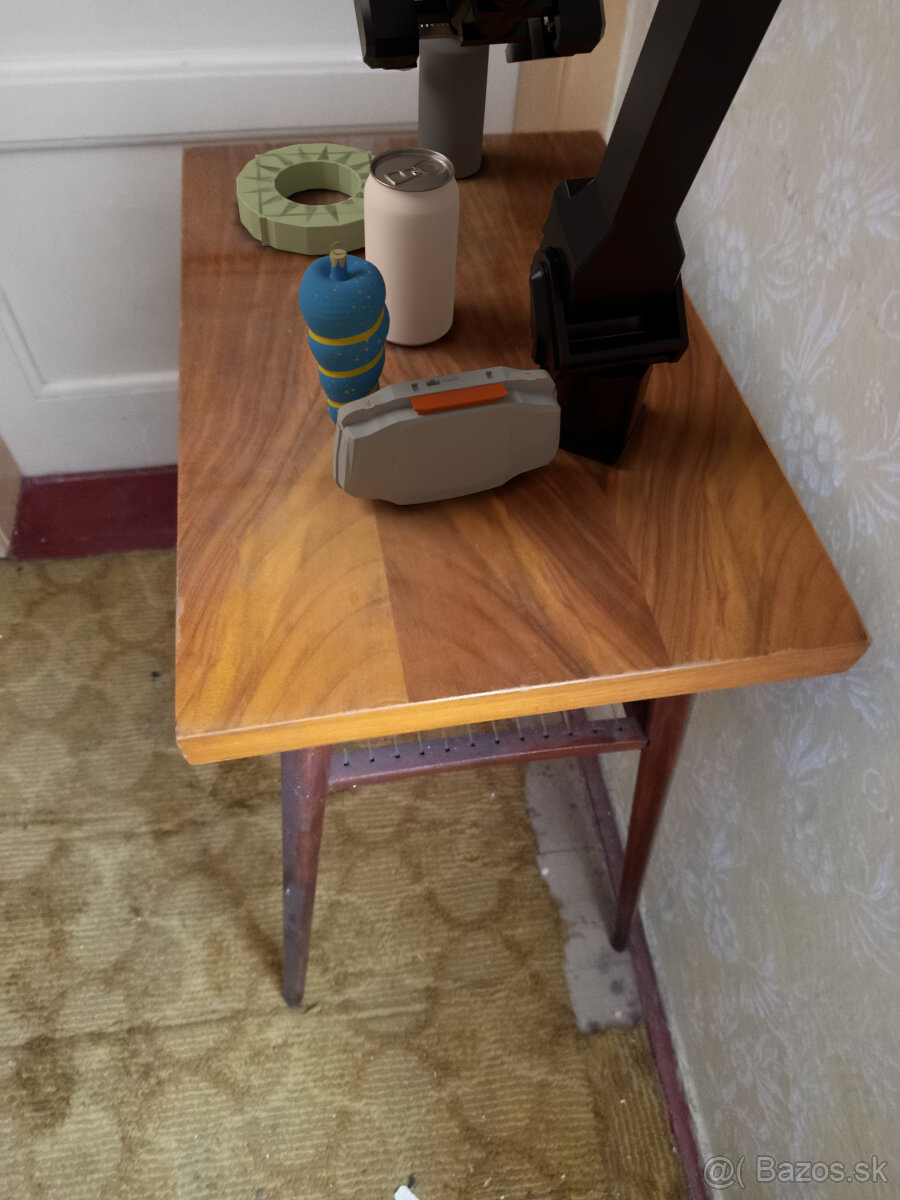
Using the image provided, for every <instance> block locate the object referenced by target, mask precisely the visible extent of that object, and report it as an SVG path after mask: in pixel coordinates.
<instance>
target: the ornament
mask: <svg viewBox="0 0 900 1200" xmlns="http://www.w3.org/2000/svg"><path fill="white" fill-rule="evenodd" d="M335 243H341V242H335ZM333 244H334V243H333ZM333 244H332V245H333ZM341 244H343V243H341ZM343 246H344V244H343ZM331 250H332V246H331ZM344 250H345V246H344ZM344 250H342V249H335V250H332V251H331V253H330V254H328V255H325V256H322V257H319V258H317V259H315V260H314V261H313V262H312V263H311V264H310V265H309V266H308V267H307V269H306V270H305V272H304V274H303V275H302V278H301V282H300V286H299V291H298V305H299V310H300V313H301V316H302V318H303V320H304V322H305V324H306V326H307V327H308V332H307V344H308V347H309V349H310V351H311V354H312V355H313V357H314V359H315V360H316V362H317V363H318V365H319V366H318V379H319V383H320V385H321V387H322V390H323V391H324V394H325V395H326V397H327V402H326V408H327V412H328V415H329V418H330V419H331V421H332V423H333V424H334V425H335V426H336V424H337V417H338V410H339V408H340V407H341V406H342V405H346V404H348V403H350V402H353V401H356V400H359V399H362V398H365V397H367V396H369V395H371V394H373V393H375V392H377V391H379V390H380V387H381V386H380V380H379V379H380V377H381V375H382V373H383V370H384V367H385V362H386V346H385V343H386V342H387V341H386V338H387V335H388V332H389V326H390V317H389V311H388V308H387V306H386V304H385V299H386V286H385V282H384V279H383V276H382V274H381V273H380V271H379V270H378V268H377V267H376V266H375V265H374V264H373V263H371V262H369V261H367V260H366V259H364V258H362V257H358V256H355V255H353V254H347V253H348V252H346V251H344Z"/></svg>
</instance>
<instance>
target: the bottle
mask: <svg viewBox="0 0 900 1200" xmlns="http://www.w3.org/2000/svg"><path fill="white" fill-rule="evenodd" d="M446 24H447V25H448V23H446ZM431 25H432V26H433V24H431ZM436 25H437V26H438V24H436ZM452 25H453V24H452ZM442 26H443V24H442ZM489 57H490V45H480V46H466V47H460V44H459V37H451V38H436V39H421V40H420V54H419V57H418V60H419V63H418V102H417V103H418V106H417V107H418V108H417V109H418V111H417V112H418V113H417V114H418V115H417V147H420V148H426V149H430V150H434V151H436V152H439V153H441V154H443V155H444V156H446V157H447V158H448V159H450V161H451V162H452V163H453V165H454V168H455V173H454V178H455V179H462V178H467V177H470V176H472V175H474V174H475V173H477V172H478V171H479V169H480V167H481V162H482V154H483V141H484V129H485V117H486V116H485V115H486V104H487V90H488V89H487V88H488V76H489V75H488V73H489V61H490V59H489Z"/></svg>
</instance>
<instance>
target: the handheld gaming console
mask: <svg viewBox="0 0 900 1200" xmlns="http://www.w3.org/2000/svg"><path fill="white" fill-rule="evenodd" d="M555 386H556V385H555V383H554V381H553V380H552V378H551V376H550V374H549V373H548V372H547V371H545V370H539V369H518V368H515V367H514V368H513V367H509V366H502V365H499V366H492V367H488V368H481V369H476V370H474V369H473V370H469V371H462V372H457V373H450V374H443V375H438V376H430V377H426V378H420V379H419V378H418V379H413V380H412V379H411V380H407V381H401V382H395V383H391V384H388V385H387V386H384V387H382V388H381V389H380V390H379V391H377V392H375V393H373V394H371V395H369V396H367V397H365V398H362V399H359V400H356V401H353V402H350V403H348V404H346V405H342V406H341V407H340V408H339V410H338V417H337V424H336V425H335V431H334V438H333V445H332V475H333V478H334V481H335V484H336V485H337V487H338V488H339V489H341V490H343V492H345V493H346V494H347V495H349V496H351V497H353V498H355V499H365V500H366V499H367V500H382V501H387V502H389V503H393V504H394V505H398V506H403V505H404V506H406V505H416V504H424V503H425V504H426V503H431V502H432V503H433V502H438V501H443V500H449V499H453V498H454V499H455V498H459V497H463V496H469V495H472V494H476V493H480V492H484V491H487V490H491V489H494V488H497V487H501V486H503V485H504V484H506V483H508V482H509V481H510V480H511V479H513V478H514V477H516V476H518V475H519V474H522V473H525V472H529V471H531V470H532V471H533V470H536V469H538V468H540V467H543V466H546V465H549V464H550V462H551V461H552V460H553V458H554V457H555V456H556V454H557V453H558V451H559V446H558V445H559V434H560V411H561V408H560V406H559V404H558V403H557V390H556V388H555Z"/></svg>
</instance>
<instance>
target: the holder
mask: <svg viewBox="0 0 900 1200" xmlns="http://www.w3.org/2000/svg"><path fill="white" fill-rule="evenodd" d="M375 156H376V155H374V154H373V153H372V150H363V149H361V148H357V147H353V146H347V145H342V144H337V143H336V144H335V143H329V142H322V143H320V142H319V143H318V142H317V143H298V144H291V145H288V146H284V147H279V148H274V149H270V150H268V151H266V152H264V153H262V154H260V153H259V154H255V155H254V158H253V159H252V160H250V161H248V162H247V163H246V164H245V165H244V167H243V168H242V169H241V171H240V172H239V173H238V174H237V176H236V179H235V180H236V198H237V204H238V205H237V206H238V211H239V218H240V222H241V224H242V225H243V226H244V228H245V229H246V230H247V231H248V233H250V235H251V236H252V237H253V238H254V239H256V240H258V241H260V242H261V245H262V247H266V246H267V247H269V246H270V247H272V248H274V249H276V250H279V251H285V252H290V253H296V254H301V255H306V256H307V255H308V256H322V255H325V256H326V255H330V253H331V251H332V250H335V249H342V250H344V246H345V250H344V251H346V253H349V252H352V251H356V250H359V249H362V248H365V224H364V187H365V184H366V181H367V179H368V177H369V175H370V170H369V166H370V163H371V161H372V159H373V158H374V157H375ZM323 189H324V190H330V191H335V192H340V193H343V194H345V195H347V196H349V198H347V199H346V200H342V201H339V202H335V203H332V204H317V205H315V204H314V205H311V204H310V205H309V204H304V203H299V202H295V201H293V200H290V199H288V197H290V196H292V195H293V194H296V193H299V192H303V191H307V190H323ZM335 242H341V243H343V244H344V246H343V244H341V243H335ZM333 243H334V244H333ZM332 244H333V245H332ZM331 246H332V250H331Z"/></svg>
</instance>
